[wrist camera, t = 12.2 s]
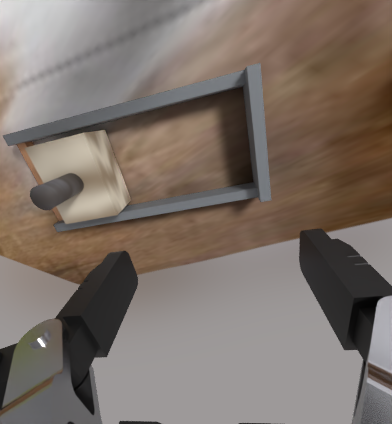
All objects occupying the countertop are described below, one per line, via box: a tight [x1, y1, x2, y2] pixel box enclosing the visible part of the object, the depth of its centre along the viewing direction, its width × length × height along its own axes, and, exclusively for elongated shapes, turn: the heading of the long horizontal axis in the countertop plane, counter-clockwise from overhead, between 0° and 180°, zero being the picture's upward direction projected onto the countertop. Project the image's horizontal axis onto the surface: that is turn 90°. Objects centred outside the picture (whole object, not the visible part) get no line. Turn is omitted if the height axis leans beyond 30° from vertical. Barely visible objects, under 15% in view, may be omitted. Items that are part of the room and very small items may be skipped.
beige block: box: [25, 130, 131, 224], centre depth 30 cm, size 12×9×12 cm
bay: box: [3, 63, 271, 232], centre depth 32 cm, size 17×38×5 cm, turn 103°
